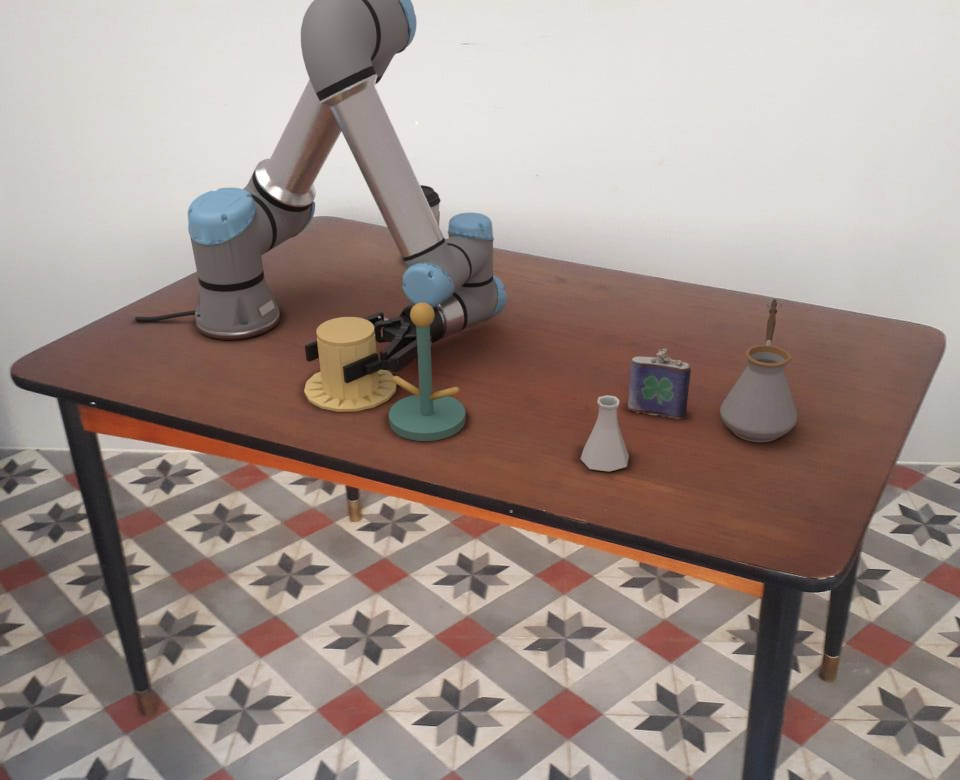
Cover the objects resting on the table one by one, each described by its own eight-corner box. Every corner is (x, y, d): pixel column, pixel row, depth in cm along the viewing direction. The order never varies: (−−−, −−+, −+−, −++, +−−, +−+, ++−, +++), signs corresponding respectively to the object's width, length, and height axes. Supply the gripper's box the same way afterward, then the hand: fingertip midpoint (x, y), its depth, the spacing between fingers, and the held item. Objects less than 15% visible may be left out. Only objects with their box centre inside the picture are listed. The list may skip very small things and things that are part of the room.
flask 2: (626, 411, 165) (631, 350, 159) (629, 402, 168) (635, 342, 162) (684, 420, 163) (691, 359, 157) (687, 411, 165) (694, 351, 159)
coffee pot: (792, 454, 155) (809, 364, 146) (714, 443, 157) (726, 354, 149) (797, 385, 172) (813, 301, 163) (726, 376, 174) (738, 293, 166)
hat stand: (376, 432, 161) (366, 314, 150) (408, 396, 170) (401, 281, 159) (447, 447, 158) (443, 327, 146) (477, 409, 167) (475, 293, 155)
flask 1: (576, 447, 157) (579, 389, 151) (624, 444, 158) (628, 386, 152) (584, 474, 151) (587, 415, 145) (633, 471, 152) (638, 412, 146)
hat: (288, 402, 169) (280, 342, 163) (332, 360, 181) (326, 303, 175) (371, 418, 165) (366, 357, 158) (411, 375, 176) (407, 316, 170)
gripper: (475, 361, 175) (370, 409, 162) (391, 319, 188) (288, 361, 175) (475, 320, 171) (367, 366, 158) (388, 281, 184) (282, 321, 171)
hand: (325, 364), depth 167 cm, fingers closed on hat, 9 cm apart
